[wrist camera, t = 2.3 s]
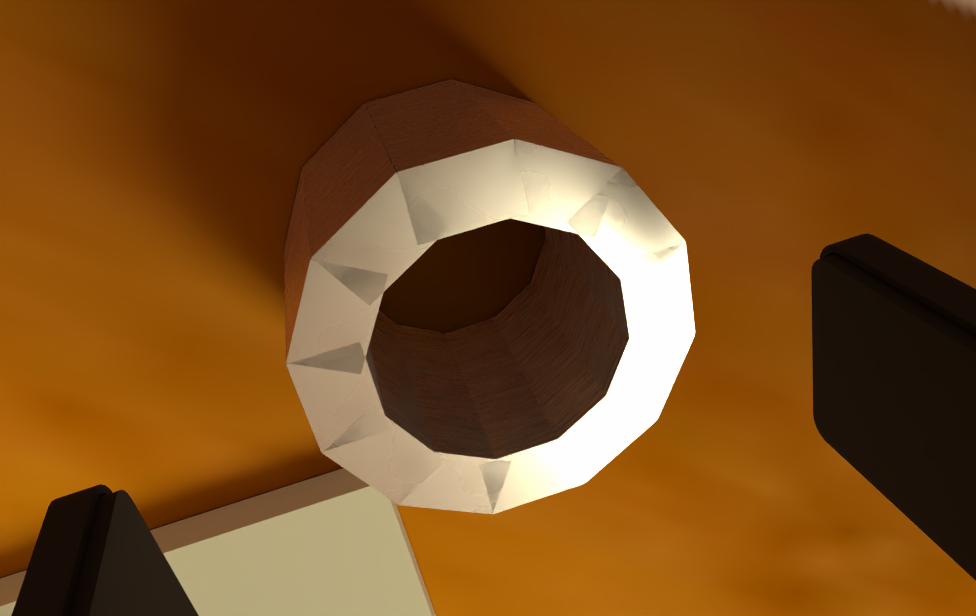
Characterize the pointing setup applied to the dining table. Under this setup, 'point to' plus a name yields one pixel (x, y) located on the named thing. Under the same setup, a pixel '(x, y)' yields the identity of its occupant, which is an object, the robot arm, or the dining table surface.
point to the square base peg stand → (292, 555)
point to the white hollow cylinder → (494, 342)
